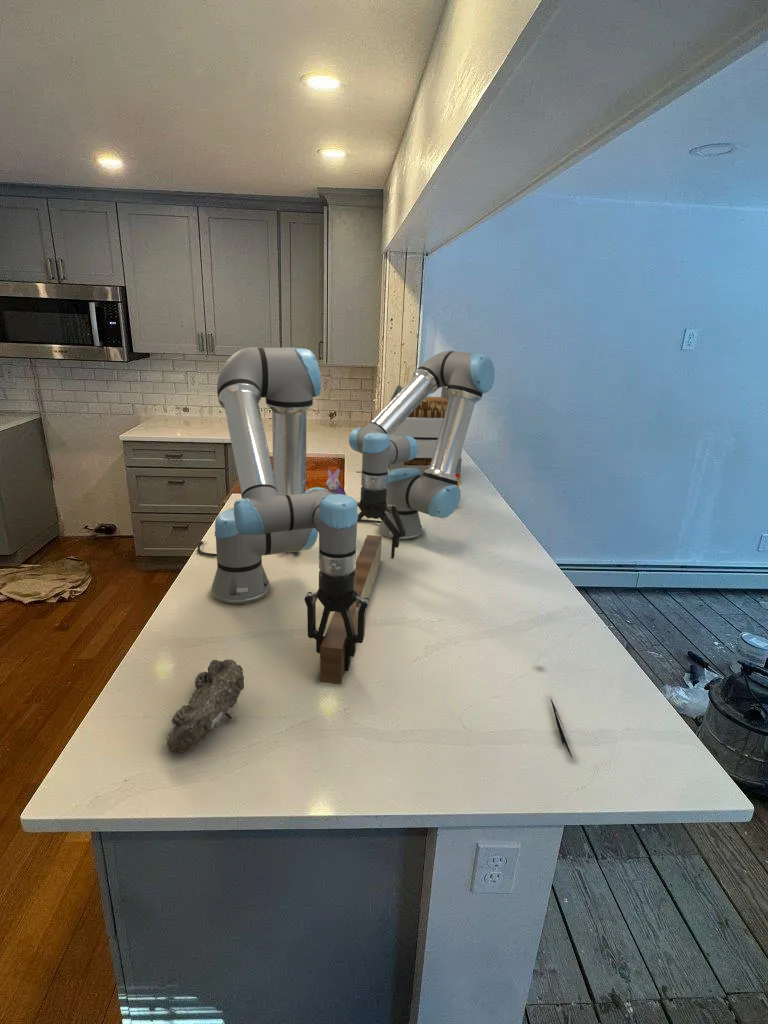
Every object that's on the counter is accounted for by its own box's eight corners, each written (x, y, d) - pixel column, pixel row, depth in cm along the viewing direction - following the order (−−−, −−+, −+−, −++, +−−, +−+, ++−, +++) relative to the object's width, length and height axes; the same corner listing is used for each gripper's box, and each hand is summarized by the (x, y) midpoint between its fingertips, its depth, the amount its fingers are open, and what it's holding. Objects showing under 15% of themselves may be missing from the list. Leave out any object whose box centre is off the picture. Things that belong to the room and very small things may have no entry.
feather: (540, 672, 128) (545, 666, 127) (572, 762, 101) (579, 755, 101) (533, 668, 128) (539, 662, 127) (564, 758, 101) (571, 750, 100)
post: (366, 560, 178) (367, 534, 175) (380, 561, 177) (381, 536, 174) (319, 682, 120) (320, 646, 117) (341, 684, 119) (341, 649, 116)
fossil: (192, 660, 117) (244, 628, 112) (224, 691, 120) (276, 661, 115) (142, 746, 98) (202, 712, 93) (182, 779, 101) (242, 748, 96)
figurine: (329, 511, 218) (329, 474, 213) (319, 503, 226) (319, 467, 221) (351, 508, 222) (352, 471, 217) (341, 500, 230) (342, 465, 225)
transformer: (382, 463, 289) (386, 382, 275) (445, 464, 293) (451, 384, 279) (390, 482, 257) (394, 392, 243) (460, 483, 261) (468, 394, 247)
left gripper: (290, 573, 114) (291, 671, 122) (377, 582, 112) (373, 681, 120) (300, 558, 121) (300, 652, 129) (382, 566, 119) (377, 660, 127)
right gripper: (328, 486, 162) (327, 555, 168) (416, 494, 159) (410, 564, 166) (334, 479, 169) (332, 545, 175) (417, 487, 166) (412, 554, 173)
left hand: (335, 666), depth 124 cm, fingers closed on post, 5 cm apart
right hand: (370, 554), depth 171 cm, fingers open, 13 cm apart
